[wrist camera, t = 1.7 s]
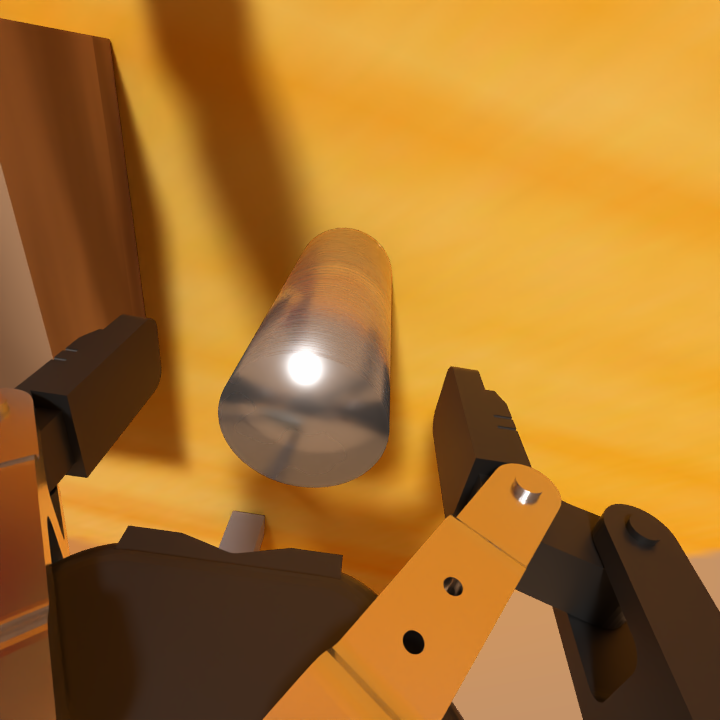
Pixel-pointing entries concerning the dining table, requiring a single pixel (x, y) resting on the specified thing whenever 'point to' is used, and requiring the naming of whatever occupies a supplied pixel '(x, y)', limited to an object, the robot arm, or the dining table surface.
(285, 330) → the peg
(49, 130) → the socket block
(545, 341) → the dining table surface
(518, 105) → the dining table surface
